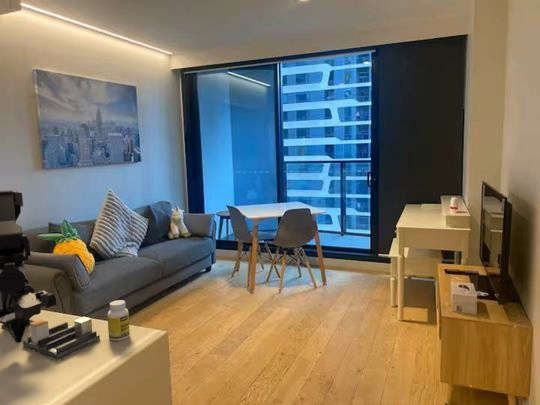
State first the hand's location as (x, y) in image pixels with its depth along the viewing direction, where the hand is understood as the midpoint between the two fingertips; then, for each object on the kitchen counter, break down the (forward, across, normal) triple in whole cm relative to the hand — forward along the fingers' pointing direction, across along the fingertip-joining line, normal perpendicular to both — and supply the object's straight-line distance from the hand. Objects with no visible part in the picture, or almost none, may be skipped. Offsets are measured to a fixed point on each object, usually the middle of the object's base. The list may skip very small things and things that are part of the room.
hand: (18, 342), depth 103 cm
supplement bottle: (+4, +19, -14) cm, 24 cm away
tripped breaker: (+2, +5, 0) cm, 6 cm away
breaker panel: (+4, +9, -4) cm, 10 cm away
